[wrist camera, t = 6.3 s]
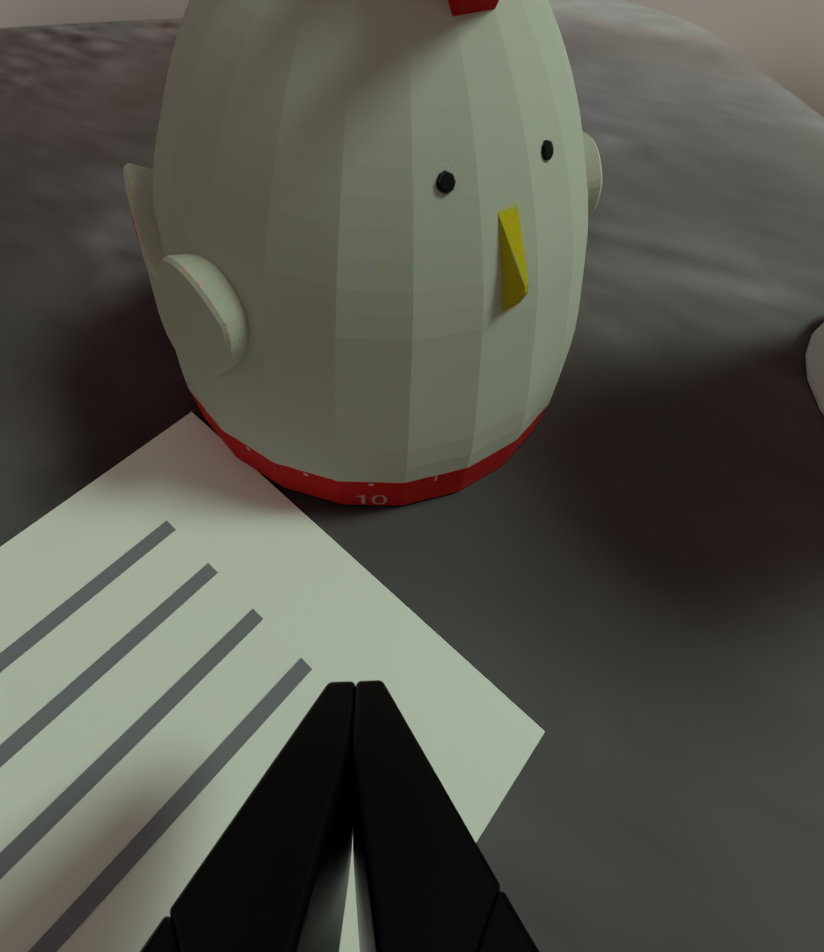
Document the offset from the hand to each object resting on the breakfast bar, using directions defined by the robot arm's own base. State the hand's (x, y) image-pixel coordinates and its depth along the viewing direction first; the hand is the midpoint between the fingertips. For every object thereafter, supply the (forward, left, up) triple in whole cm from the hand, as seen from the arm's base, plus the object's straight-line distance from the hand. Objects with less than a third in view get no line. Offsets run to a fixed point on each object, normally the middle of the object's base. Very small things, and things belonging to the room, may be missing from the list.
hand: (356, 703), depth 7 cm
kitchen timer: (+10, +8, -6) cm, 14 cm away
